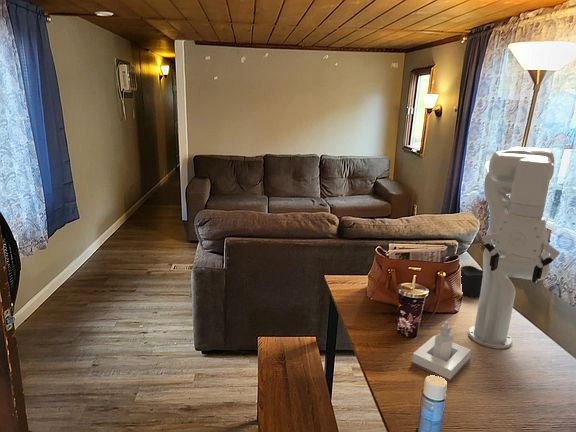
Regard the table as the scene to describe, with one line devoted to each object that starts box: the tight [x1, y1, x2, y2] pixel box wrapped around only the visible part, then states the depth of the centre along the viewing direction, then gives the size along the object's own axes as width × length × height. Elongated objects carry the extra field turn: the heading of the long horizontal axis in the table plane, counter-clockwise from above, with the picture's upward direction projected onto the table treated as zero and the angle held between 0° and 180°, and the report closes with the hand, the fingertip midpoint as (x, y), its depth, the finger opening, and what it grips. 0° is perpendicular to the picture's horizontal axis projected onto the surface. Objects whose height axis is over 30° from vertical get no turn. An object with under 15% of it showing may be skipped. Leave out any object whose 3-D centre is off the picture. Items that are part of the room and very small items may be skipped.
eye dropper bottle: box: [433, 321, 454, 362], centre depth 119 cm, size 4×6×12 cm
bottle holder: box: [411, 334, 472, 383], centre depth 120 cm, size 14×11×4 cm
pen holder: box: [460, 265, 483, 299], centre depth 164 cm, size 9×9×10 cm
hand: (513, 274), depth 106 cm, fingers open, 9 cm apart
